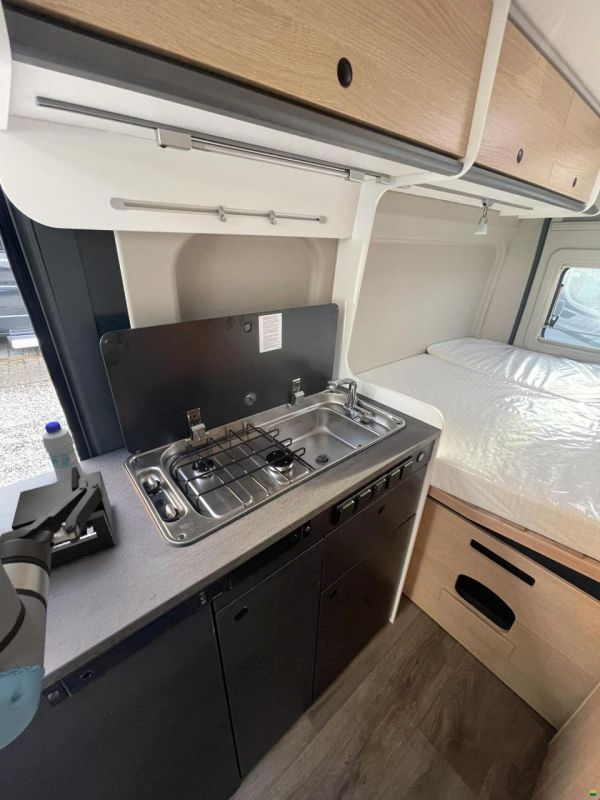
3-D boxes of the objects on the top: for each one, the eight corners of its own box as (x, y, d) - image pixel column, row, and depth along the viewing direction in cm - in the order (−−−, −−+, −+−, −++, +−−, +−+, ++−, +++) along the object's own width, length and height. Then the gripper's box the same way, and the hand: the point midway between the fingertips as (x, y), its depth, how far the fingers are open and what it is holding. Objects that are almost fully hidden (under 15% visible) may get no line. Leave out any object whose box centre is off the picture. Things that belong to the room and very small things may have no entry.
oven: (115, 541, 78) (102, 499, 73) (32, 571, 71) (11, 527, 65) (112, 509, 88) (100, 470, 82) (38, 533, 80) (20, 491, 75)
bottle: (82, 485, 96) (63, 426, 88) (55, 490, 94) (33, 430, 86) (86, 471, 102) (68, 415, 94) (61, 476, 100) (40, 419, 91)
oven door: (117, 558, 75) (105, 527, 68) (30, 591, 68) (6, 561, 60) (115, 541, 78) (103, 509, 71) (31, 571, 71) (8, 539, 63)
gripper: (-136, 676, 33) (-67, 537, 49) (134, 559, 45) (117, 479, 61) (-182, 629, 30) (-92, 498, 46) (121, 517, 42) (107, 445, 58)
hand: (28, 487), depth 54 cm, fingers open, 13 cm apart
